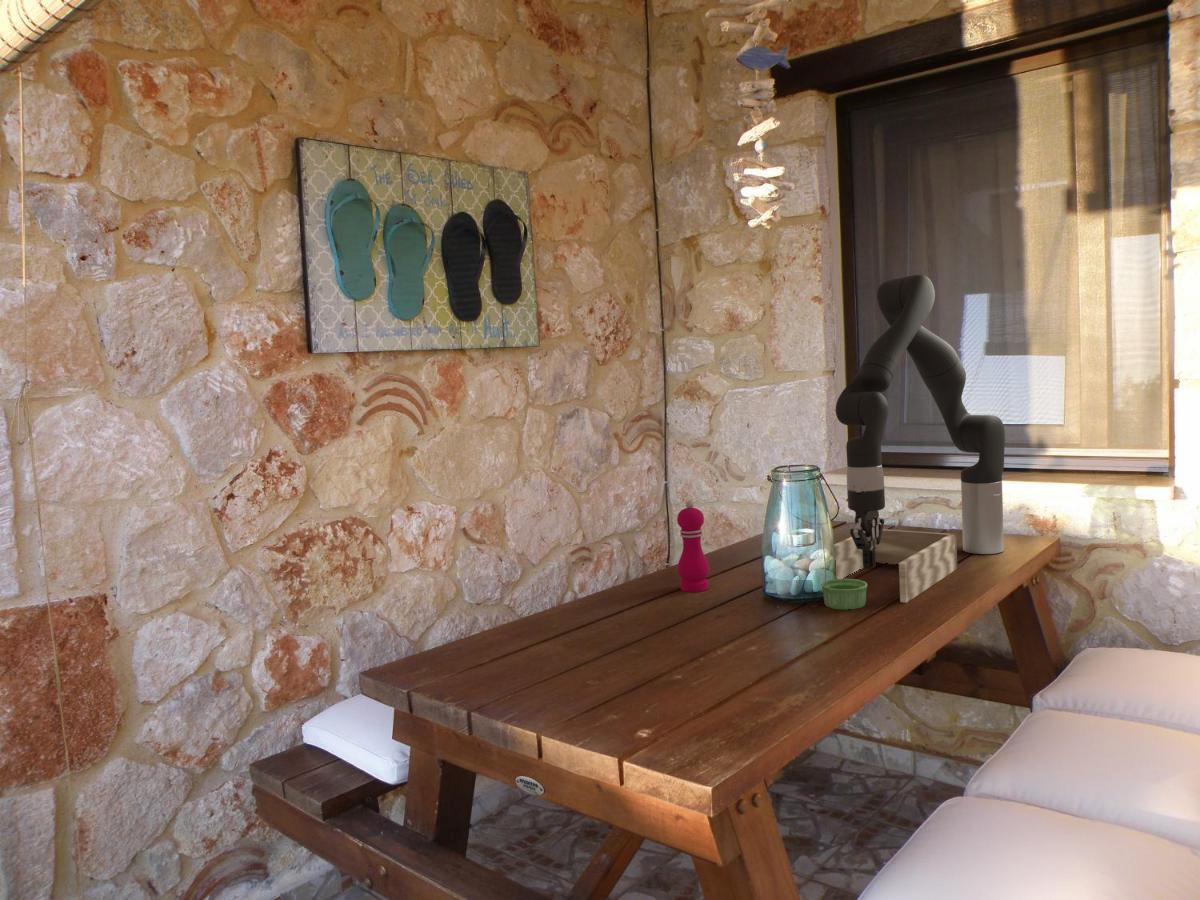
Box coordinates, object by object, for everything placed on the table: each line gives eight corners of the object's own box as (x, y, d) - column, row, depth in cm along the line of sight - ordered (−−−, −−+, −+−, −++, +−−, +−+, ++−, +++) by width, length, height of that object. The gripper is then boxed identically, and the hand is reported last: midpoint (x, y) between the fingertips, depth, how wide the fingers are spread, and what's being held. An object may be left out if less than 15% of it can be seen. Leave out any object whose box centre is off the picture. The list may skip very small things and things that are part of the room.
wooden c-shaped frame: (870, 561, 220) (869, 528, 219) (957, 568, 207) (956, 534, 206) (812, 592, 195) (810, 555, 194) (906, 602, 182) (904, 563, 181)
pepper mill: (710, 584, 208) (705, 497, 206) (711, 592, 201) (706, 502, 199) (678, 585, 208) (673, 499, 207) (678, 593, 201) (673, 504, 199)
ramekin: (874, 609, 180) (873, 587, 179) (828, 612, 180) (827, 590, 179) (860, 597, 189) (859, 577, 188) (817, 600, 189) (816, 580, 188)
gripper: (861, 481, 199) (864, 559, 200) (835, 491, 188) (839, 572, 190) (894, 482, 194) (898, 561, 196) (870, 492, 184) (874, 576, 185)
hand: (869, 567), depth 193 cm, fingers closed
